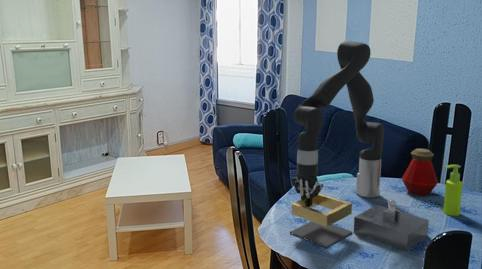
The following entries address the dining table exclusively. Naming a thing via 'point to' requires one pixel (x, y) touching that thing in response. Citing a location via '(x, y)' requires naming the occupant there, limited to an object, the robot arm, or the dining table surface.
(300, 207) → the wooden tray
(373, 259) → the dining table surface
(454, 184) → the soap dispenser
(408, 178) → the bottle
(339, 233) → the black mat
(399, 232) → the translucent grey knobbed box
